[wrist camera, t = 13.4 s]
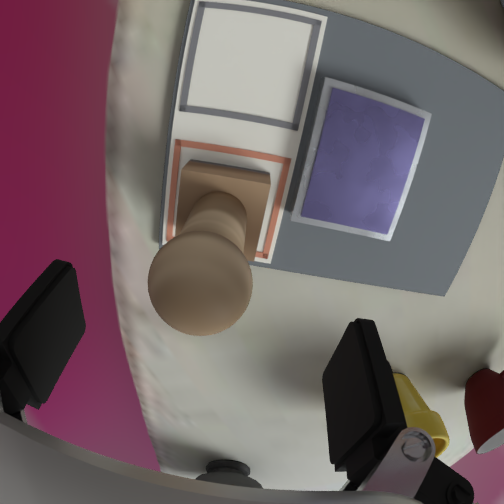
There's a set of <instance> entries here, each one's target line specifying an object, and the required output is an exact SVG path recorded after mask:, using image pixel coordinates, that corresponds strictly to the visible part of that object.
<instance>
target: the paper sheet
mask: <svg viewBox="0 0 504 504" xmlns="http://www.w3.org/2000/svg"><path fill="white" fill-rule="evenodd" d="M327 18H328V17H326V16H322V15H319V14H315V13H311V12H306V11H302V10H298V9H293V8H288V7H283V6H278V5H273V4H267V3H261V2H254V1H247V0H195V3H194V7H193V11H192V16H191V21H190V25H189V30H188V35H187V40H186V45H185V51H184V56H183V62H182V68H181V73H180V79H179V86H178V92H177V99H176V106H175V113H174V120H173V128H172V136H171V144H170V153H169V163H168V173H167V183H166V195H165V208H164V223H163V240H162V245H164V244H166V243H167V242H168V241H169V240H171V239H172V238H174V237H175V229H176V217H177V206H178V195H179V186H180V176H181V169H182V168H183V167H184V166H185V165H186V164H187V163H188V161H189V160H190V159H193V160H200V161H206V162H213V163H219V164H225V165H231V166H237V167H242V168H248V169H253V170H259V171H264V172H269V173H270V180H271V187H270V191H269V196H268V200H267V205H266V210H265V214H264V219H263V223H262V228H261V232H260V237H259V241H258V246H257V251H256V255H255V260H254V261H257V262H263V263H269V264H271V260H272V256H273V252H274V248H275V244H276V240H277V236H278V232H279V228H280V224H281V220H282V216H283V212H284V208H285V204H286V199H287V195H288V191H289V187H290V183H291V179H292V174H293V170H294V166H295V162H296V157H297V153H298V149H299V145H300V140H301V136H302V132H303V127H304V123H305V119H306V114H307V110H308V105H309V101H310V96H311V92H312V88H313V83H314V78H315V74H316V69H317V65H318V60H319V56H320V51H321V46H322V42H323V37H324V32H325V27H326V23H327Z"/></svg>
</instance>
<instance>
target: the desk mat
mask: <svg viewBox="0 0 504 504" xmlns="http://www.w3.org/2000/svg"><path fill="white" fill-rule="evenodd" d="M247 1H254V2H261V3H267V4H273V5H278V6H283V7H288V8H293V9H298V10H302V11H306V12H311V13H315V14H319V15H322V16H326V17H328V18H327V23H326V27H325V32H324V37H323V42H322V46H321V51H320V56H319V60H318V65H317V69H316V74H315V78H314V83H313V88H312V92H311V96H310V101H309V105H308V110H307V114H306V119H305V123H304V127H303V132H302V136H301V140H300V145H299V149H298V153H297V157H296V162H295V166H294V170H293V174H292V179H291V183H290V187H289V191H288V195H287V199H286V204H285V208H284V212H283V216H282V220H281V224H280V228H279V232H278V236H277V240H276V244H275V248H274V252H273V256H272V260H271V264H269V263H263V262H257V261H254V262H253V261H248V263H249V265H254V266H259V267H265V268H271V269H277V270H283V271H289V272H295V273H301V274H307V275H313V276H319V277H325V278H331V279H337V280H343V281H349V282H355V283H362V284H368V285H374V286H380V287H387V288H393V289H399V290H406V291H412V292H418V293H425V294H431V295H438V296H445V295H446V293H447V291H448V289H449V287H450V285H451V283H452V281H453V280H454V278H455V276H456V274H457V272H458V270H459V268H460V266H461V264H462V262H463V260H464V258H465V255H466V253H467V251H468V249H469V247H470V245H471V243H472V240H473V238H474V236H475V233H476V231H477V229H478V227H479V224H480V222H481V219H482V217H483V214H484V212H485V209H486V207H487V204H488V202H489V199H490V196H491V194H492V191H493V188H494V185H495V182H496V179H497V176H498V173H499V170H500V167H501V164H502V161H503V158H504V91H503V90H502V89H500V88H499V87H497V86H496V85H494V84H492V83H491V82H489V81H488V80H486V79H485V78H483V77H481V76H480V75H478V74H476V73H475V72H473V71H471V70H470V69H468V68H466V67H464V66H463V65H461V64H459V63H457V62H455V61H453V60H452V59H450V58H448V57H446V56H444V55H442V54H440V53H438V52H436V51H434V50H432V49H430V48H428V47H426V46H423V45H421V44H419V43H417V42H415V41H412V40H410V39H408V38H405V37H403V36H401V35H398V34H396V33H393V32H391V31H388V30H386V29H383V28H380V27H378V26H375V25H372V24H369V23H366V22H364V21H361V20H358V19H354V18H351V17H348V16H345V15H342V14H338V13H335V12H331V11H328V10H324V9H320V8H316V7H312V6H308V5H304V4H299V3H295V2H290V1H285V0H247ZM194 3H195V0H191V2H190V7H189V11H188V16H187V20H186V25H185V30H184V35H183V40H182V45H181V51H180V56H179V62H178V67H177V73H176V80H175V86H174V92H173V99H172V106H171V113H170V121H169V129H168V137H167V146H166V156H165V165H164V176H163V188H162V201H161V216H160V233H159V249H161V247H162V246H163V245H162V240H163V223H164V208H165V195H166V183H167V173H168V163H169V153H170V144H171V136H172V128H173V120H174V113H175V106H176V99H177V92H178V86H179V79H180V73H181V68H182V62H183V56H184V51H185V45H186V40H187V35H188V30H189V25H190V21H191V16H192V11H193V7H194ZM322 77H327V78H331V79H334V80H338V81H341V82H345V83H348V84H352V85H355V86H358V87H361V88H364V89H367V90H370V91H373V92H376V93H379V94H382V95H385V96H388V97H391V98H393V99H396V100H399V101H401V102H404V103H407V104H409V105H412V106H414V107H417V108H419V109H421V110H424V111H426V112H429V113H431V114H432V115H431V119H430V123H429V126H428V130H427V134H426V137H425V141H424V144H423V148H422V151H421V154H420V158H419V161H418V164H417V167H416V170H415V173H414V177H413V180H412V183H411V186H410V189H409V191H408V194H407V197H406V200H405V203H404V206H403V208H402V211H401V214H400V217H399V219H398V222H397V225H396V227H395V230H394V232H393V235H392V238H391V240H390V241H386V240H381V239H377V238H372V237H367V236H363V235H358V234H353V233H348V232H344V231H339V230H334V229H329V228H324V227H319V226H314V225H309V224H304V223H299V222H294V221H291V219H290V214H289V211H290V207H291V203H292V199H293V195H294V191H295V187H296V183H297V178H298V174H299V170H300V166H301V162H302V158H303V154H304V149H305V145H306V141H307V137H308V133H309V128H310V124H311V120H312V115H313V111H314V107H315V102H316V98H317V93H318V89H319V85H320V80H321V78H322Z"/></svg>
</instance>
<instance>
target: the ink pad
mask: <svg viewBox="0 0 504 504" xmlns="http://www.w3.org/2000/svg"><path fill="white" fill-rule="evenodd" d="M431 115H432V114H431V113H429V112H426V111H424V110H421V109H419V108H417V107H414V106H412V105H409V104H407V103H404V102H401V101H399V100H396V99H393V98H391V97H388V96H385V95H382V94H379V93H376V92H373V91H370V90H367V89H364V88H361V87H358V86H355V85H352V84H348V83H345V82H341V81H338V80H334V79H331V78H327V77H322V78H321V80H320V85H319V89H318V93H317V98H316V102H315V107H314V111H313V115H312V120H311V124H310V128H309V133H308V137H307V141H306V145H305V149H304V154H303V158H302V162H301V166H300V170H299V174H298V178H297V183H296V187H295V191H294V195H293V199H292V203H291V207H290V211H289V214H290V219H291V221H294V222H299V223H304V224H309V225H314V226H319V227H324V228H329V229H334V230H339V231H344V232H348V233H353V234H358V235H363V236H367V237H372V238H377V239H381V240H386V241H390V240H391V238H392V235H393V232H394V230H395V227H396V225H397V222H398V219H399V217H400V214H401V211H402V208H403V206H404V203H405V200H406V197H407V194H408V191H409V189H410V186H411V183H412V180H413V177H414V173H415V170H416V167H417V164H418V161H419V158H420V154H421V151H422V148H423V144H424V141H425V137H426V134H427V130H428V126H429V123H430V119H431Z"/></svg>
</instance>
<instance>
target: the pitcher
mask: <svg viewBox="0 0 504 504" xmlns="http://www.w3.org/2000/svg"><path fill="white" fill-rule="evenodd" d="M206 471H207V473H206V474H202V475H200V476H198V477H197V478H196V479H195V480H200V481H206V482H212V483H218V484H225V485H233V486H241V487H250V488H261V489H263V488H262V486H261V484H259V483H258V482H257V481H256V480H254V479H252V478H250V477H248V475H249V474H250V468H249V467H248V466H247V465H246V464H243V463H241V462H236V461H229V460H218V461H213V462H210V463H208V465H207V466H206Z"/></svg>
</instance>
